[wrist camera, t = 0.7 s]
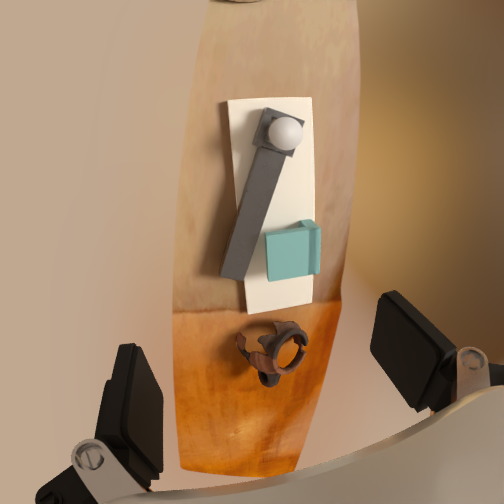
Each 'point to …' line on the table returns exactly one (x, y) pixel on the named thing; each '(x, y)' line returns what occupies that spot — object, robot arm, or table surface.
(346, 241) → the table surface
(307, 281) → the base plank
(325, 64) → the table surface
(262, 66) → the table surface
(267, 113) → the swing link
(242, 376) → the table surface
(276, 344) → the brown two-tone legged part
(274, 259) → the keeper bracket
